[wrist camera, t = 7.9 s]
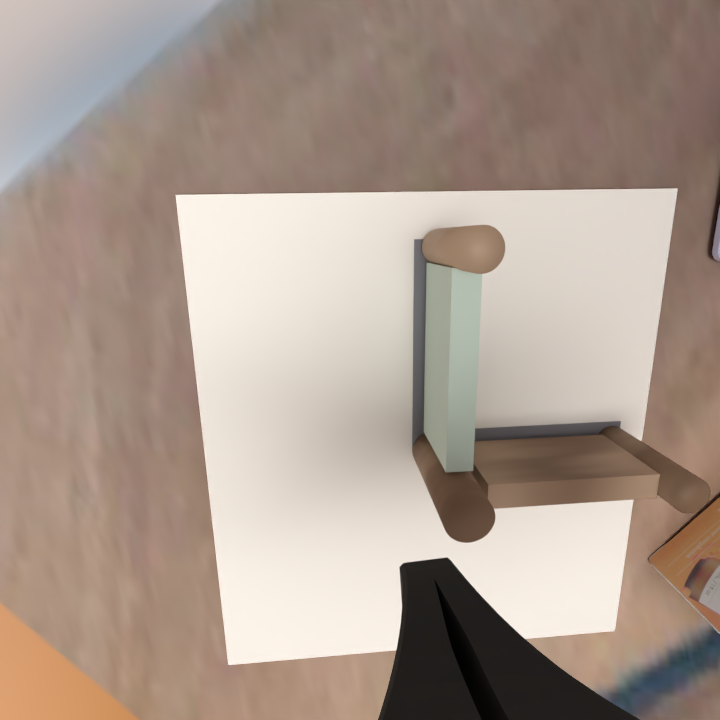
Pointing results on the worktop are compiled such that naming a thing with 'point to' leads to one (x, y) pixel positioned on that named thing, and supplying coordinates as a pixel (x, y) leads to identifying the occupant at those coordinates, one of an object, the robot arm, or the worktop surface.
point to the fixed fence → (552, 477)
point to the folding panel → (455, 336)
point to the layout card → (407, 401)
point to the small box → (695, 564)
